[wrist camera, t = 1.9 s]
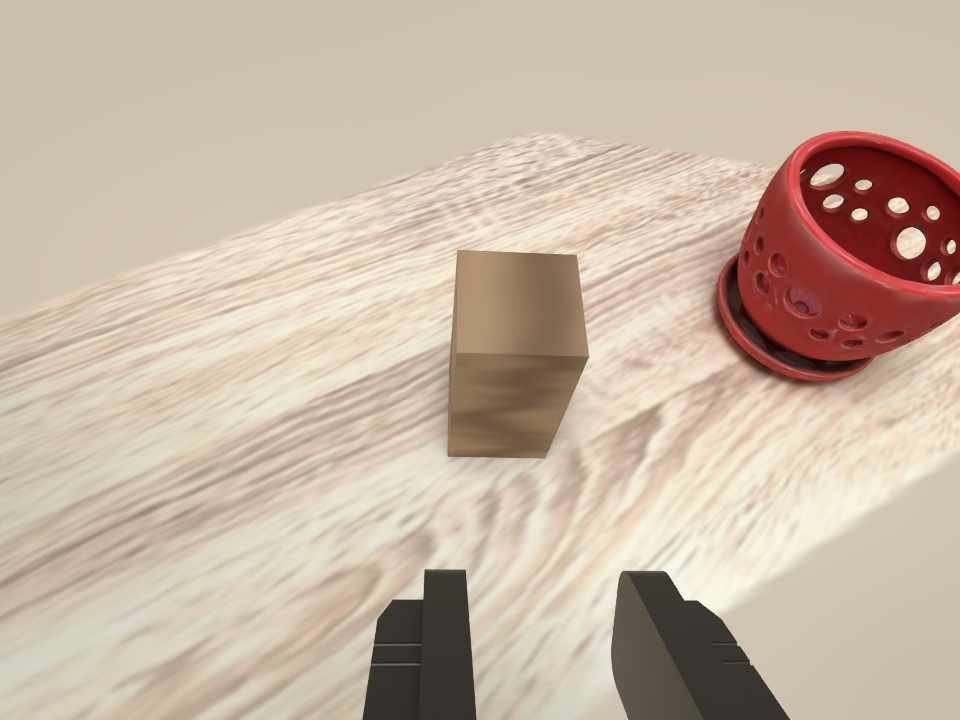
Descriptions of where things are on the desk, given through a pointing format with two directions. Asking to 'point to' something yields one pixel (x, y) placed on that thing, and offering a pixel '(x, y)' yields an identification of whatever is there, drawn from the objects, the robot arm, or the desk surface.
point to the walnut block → (513, 352)
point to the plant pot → (843, 259)
